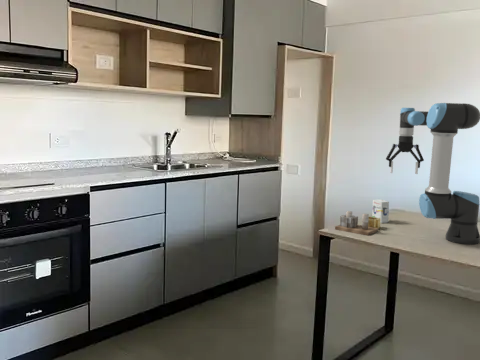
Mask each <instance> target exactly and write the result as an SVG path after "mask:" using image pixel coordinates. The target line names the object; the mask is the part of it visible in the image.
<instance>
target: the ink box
mask: <svg viewBox="0 0 480 360" xmlns="http://www.w3.org/2000/svg"><path fill="white" fill-rule="evenodd" d="M389 213H390V202H389V201H388V200H384V199H380V198H378V199H372V214H371V215H372V216H371V217H377V218H381V221H380V224H384V223H385V224H387V223H389Z"/></svg>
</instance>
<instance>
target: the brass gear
mask: <svg viewBox="0 0 480 360" xmlns="http://www.w3.org/2000/svg"><path fill="white" fill-rule="evenodd" d="M380 221H381V218H377V217H372V216H369V218H368V227H373V228H378V230H379V229H380V228H381V223H380Z"/></svg>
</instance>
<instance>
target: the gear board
mask: <svg viewBox="0 0 480 360" xmlns="http://www.w3.org/2000/svg"><path fill="white" fill-rule="evenodd" d="M369 217H370V215H369V213H362V217H361V225H360V224H359V216H357V215H353V211H350V210H348V211H346V212H345V215H344V214H343V215H341V216H340V218H339V225H335V226H334V230H337V231H343V232H348V233H353V234H359V235H363V236H369V235H372V234H374V233H377V232H379V229H378V228H373V227H368V218H369Z"/></svg>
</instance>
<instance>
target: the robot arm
mask: <svg viewBox="0 0 480 360" xmlns="http://www.w3.org/2000/svg"><path fill="white" fill-rule="evenodd" d="M399 116H400V117H399V131H398V133H399V136H398V143H397V144H395V143H392V145H391V146H392V147H391V149H390V150H389V152H388V154H387V156H386V158H385V160H386V161H388V167H389V168H390V174H393V169H394V167H393V166H394V161H393V160H394V159H395V158H396V157H397V156H398V155H399V154H400V153H410V154H411V155H412V157H413V158H414V159H415V161H416V162H415V170H414V173H415V174H416V175H418V171H419V169H420V168H421V163H422V162H424V161H425V160H424V158H423V155H422V153H421V151H420V148H419V147H420V145H419V144H417V143H416V144H414V132H415V131H414V130H415V127H416V126H424V127H425V126H426V127H427V128H428V129H430V133H431V135H432V137H433V138H432V149H431V159H430V167H429V168H430V169H429V170H430V171H429V180H428V186H427V187H426V188H425V189H424V193H421V194H420V196H419V198H418V200H419V201H418V204H419V205H418V206H419V210H420V212H421V215H422V216H423V217H424V218H426V219H433V220H436V219H437V220H440V219H443V220H444V219H445V220H446V219H447V220H449V219H450V223H449V225H448V228H447V231H446V233H445V239H446V241H449V242H452V243H456V244H463V245H477V244H480V232H479V231H480V230H479V228H478V224H479V223H478V222H479V221H478V220H479V213H480V212H479V211H480V197H479V196H478V195H477V194H475V193H471V192H466V191H460V190H454V191H453V192H452V190H451V189H450V188H449V184H450V173H451V167H452V166H451V164H452V157H453V156H452V155H453V145H454V137H455V136H456V135H457V134H458V132H459V130H468V129H471V128H474V127H476V126H477V125H478V124H479V122H480V110H479V109H478V107H476V106H475V105H473V104H471V103H460V102H459V103H456V102H454V103H452V102H438V103H434V104H432V105H431V107H430V108H429V110H428V111H424V110H423V111H420V110H416V109H415V107H402V108H401V109H400V113H399ZM396 148H398V149H397V151H396V152H395V153H394V151H395V149H396ZM413 148H414V149H415V151H416V153H417V155H418V156H417V155H416V154H415V151H413ZM393 153H394V154H393Z"/></svg>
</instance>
